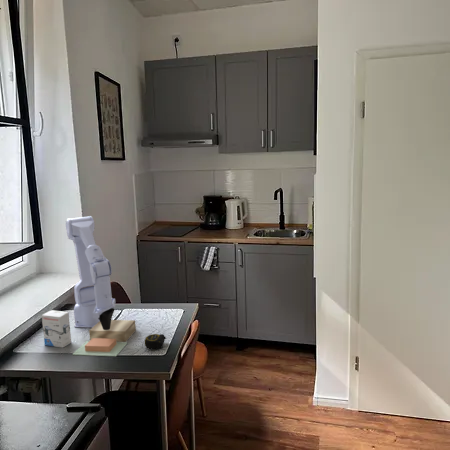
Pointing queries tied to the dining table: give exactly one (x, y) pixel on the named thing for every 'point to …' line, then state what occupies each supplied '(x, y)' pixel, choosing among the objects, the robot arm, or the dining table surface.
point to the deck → (114, 330)
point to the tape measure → (154, 341)
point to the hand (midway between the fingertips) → (106, 329)
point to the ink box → (56, 328)
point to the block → (100, 345)
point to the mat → (113, 352)
